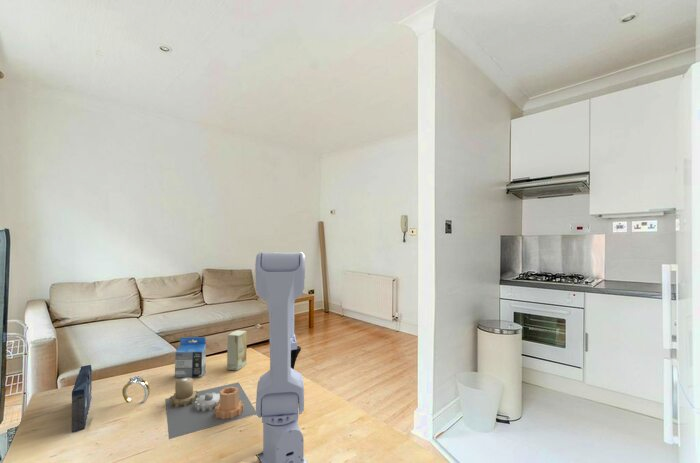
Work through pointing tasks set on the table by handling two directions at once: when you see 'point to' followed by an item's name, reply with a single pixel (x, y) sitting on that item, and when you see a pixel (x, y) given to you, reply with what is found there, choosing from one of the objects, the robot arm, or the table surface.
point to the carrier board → (199, 408)
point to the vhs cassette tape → (81, 398)
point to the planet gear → (229, 403)
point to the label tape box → (190, 357)
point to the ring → (139, 381)
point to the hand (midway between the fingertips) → (283, 368)
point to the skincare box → (236, 350)
